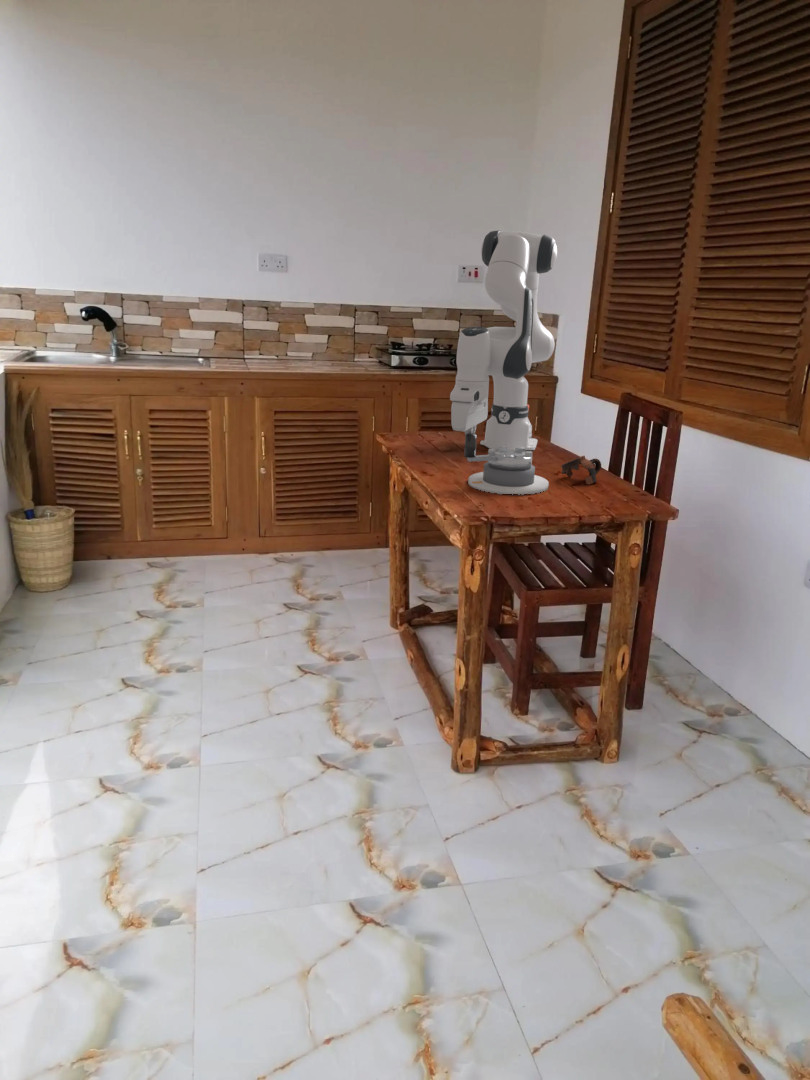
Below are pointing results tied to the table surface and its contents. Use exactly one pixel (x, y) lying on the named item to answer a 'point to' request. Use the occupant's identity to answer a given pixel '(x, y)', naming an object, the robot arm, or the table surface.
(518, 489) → the base plate
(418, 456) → the table surface
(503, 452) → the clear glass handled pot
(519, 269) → the robot arm
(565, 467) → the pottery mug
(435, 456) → the table surface
